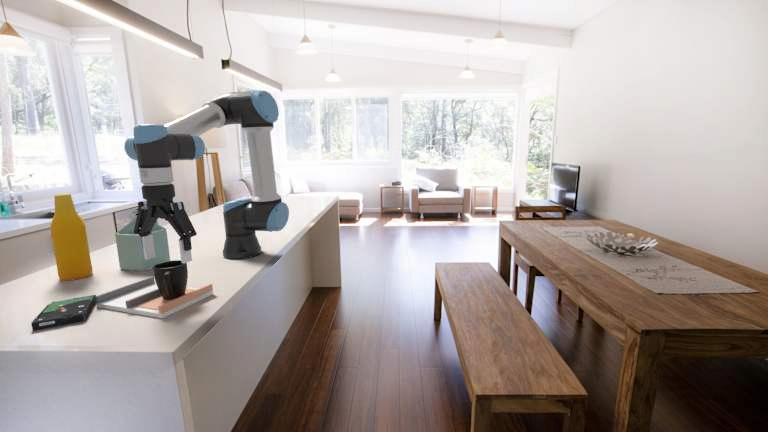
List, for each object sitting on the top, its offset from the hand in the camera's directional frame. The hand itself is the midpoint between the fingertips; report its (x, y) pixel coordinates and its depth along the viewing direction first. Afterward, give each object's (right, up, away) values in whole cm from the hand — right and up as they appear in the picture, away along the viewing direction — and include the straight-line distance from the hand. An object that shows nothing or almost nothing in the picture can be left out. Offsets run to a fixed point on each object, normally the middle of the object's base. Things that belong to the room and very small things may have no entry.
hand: (168, 260), depth 101 cm
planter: (-30, -8, +35) cm, 47 cm away
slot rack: (-5, -12, +4) cm, 14 cm away
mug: (+1, -11, +1) cm, 11 cm away
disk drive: (-24, -15, -5) cm, 28 cm away
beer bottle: (-49, -9, +27) cm, 56 cm away
